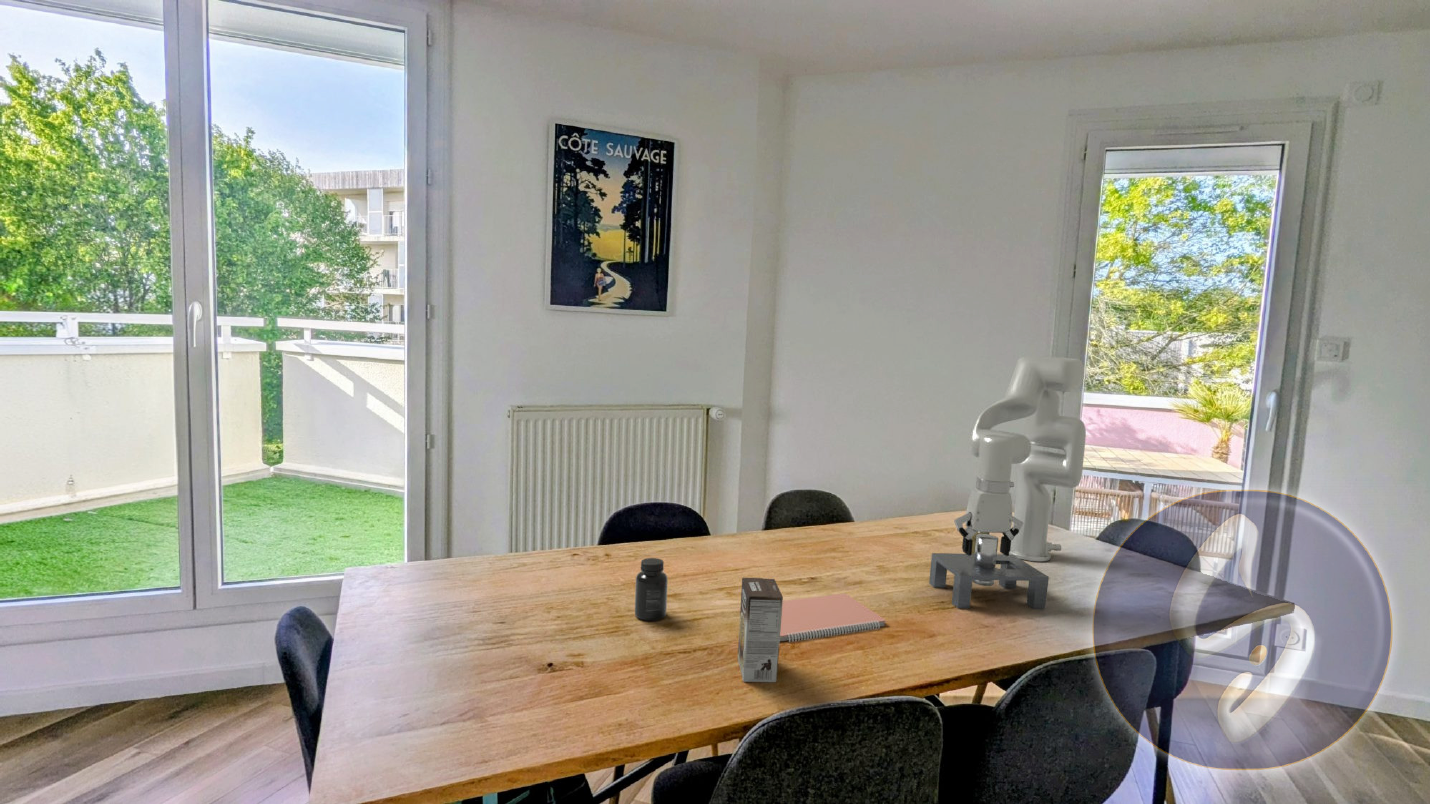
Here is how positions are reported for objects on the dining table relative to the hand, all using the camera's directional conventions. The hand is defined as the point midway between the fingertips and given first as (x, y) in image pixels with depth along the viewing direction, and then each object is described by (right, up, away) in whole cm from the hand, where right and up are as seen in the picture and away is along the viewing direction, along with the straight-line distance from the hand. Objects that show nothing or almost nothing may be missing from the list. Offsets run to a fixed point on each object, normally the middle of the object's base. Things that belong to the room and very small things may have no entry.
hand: (985, 553), depth 173 cm
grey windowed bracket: (0, -11, +1) cm, 11 cm away
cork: (+6, -9, +22) cm, 24 cm away
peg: (-1, -7, +1) cm, 7 cm away
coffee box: (-59, -12, -43) cm, 74 cm away
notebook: (-45, -11, -19) cm, 50 cm away
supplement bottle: (-81, -9, -22) cm, 84 cm away
